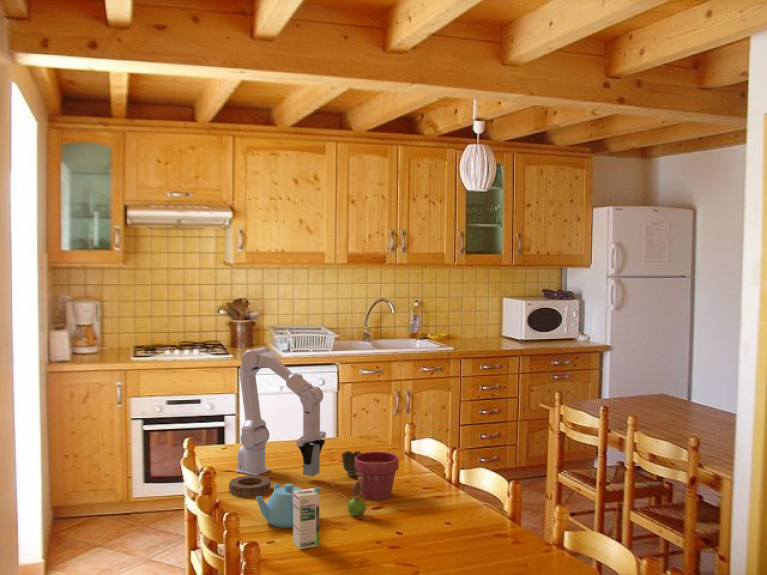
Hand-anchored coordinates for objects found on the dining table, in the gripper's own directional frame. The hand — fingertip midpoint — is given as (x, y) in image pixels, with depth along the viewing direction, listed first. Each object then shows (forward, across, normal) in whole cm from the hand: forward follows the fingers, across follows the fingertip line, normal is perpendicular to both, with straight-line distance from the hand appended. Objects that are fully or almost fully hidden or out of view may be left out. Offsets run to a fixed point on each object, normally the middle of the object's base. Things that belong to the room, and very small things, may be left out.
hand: (311, 462), depth 258 cm
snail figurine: (+6, -20, -31) cm, 38 cm away
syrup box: (+6, -46, -31) cm, 56 cm away
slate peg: (+4, 0, 0) cm, 4 cm away
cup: (+6, +12, -9) cm, 16 cm away
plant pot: (+6, -2, -27) cm, 28 cm away
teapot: (+7, -34, -16) cm, 38 cm away
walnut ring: (+6, -19, +11) cm, 23 cm away
